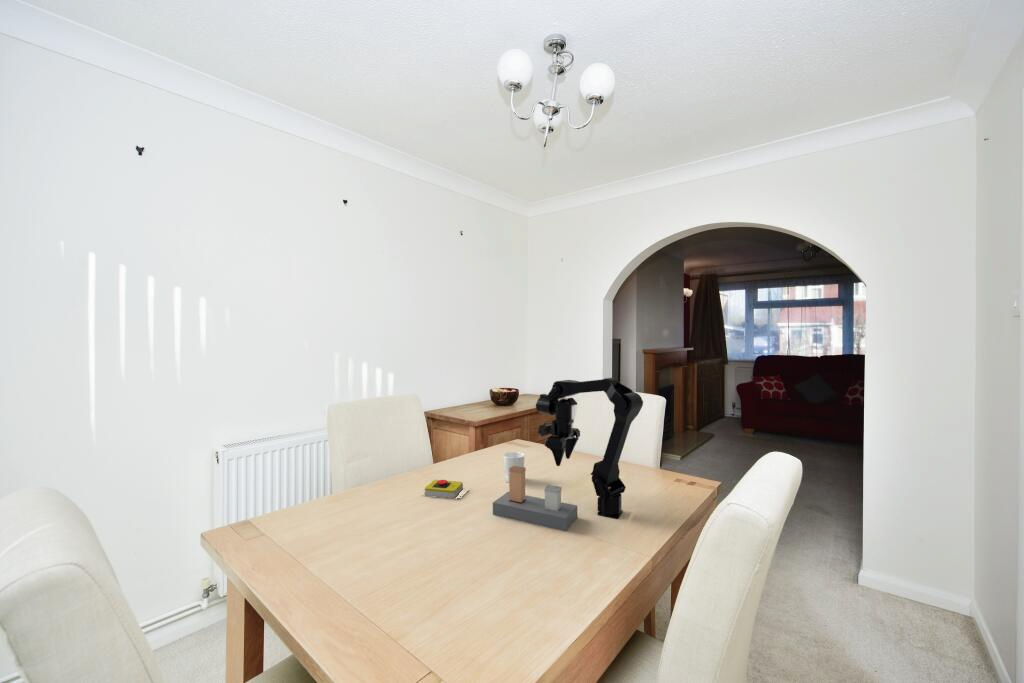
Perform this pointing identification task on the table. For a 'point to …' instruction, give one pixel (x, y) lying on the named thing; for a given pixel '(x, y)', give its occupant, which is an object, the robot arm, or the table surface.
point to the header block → (535, 512)
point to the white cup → (512, 462)
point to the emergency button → (444, 488)
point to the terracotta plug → (517, 483)
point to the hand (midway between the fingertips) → (563, 462)
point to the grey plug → (553, 497)
